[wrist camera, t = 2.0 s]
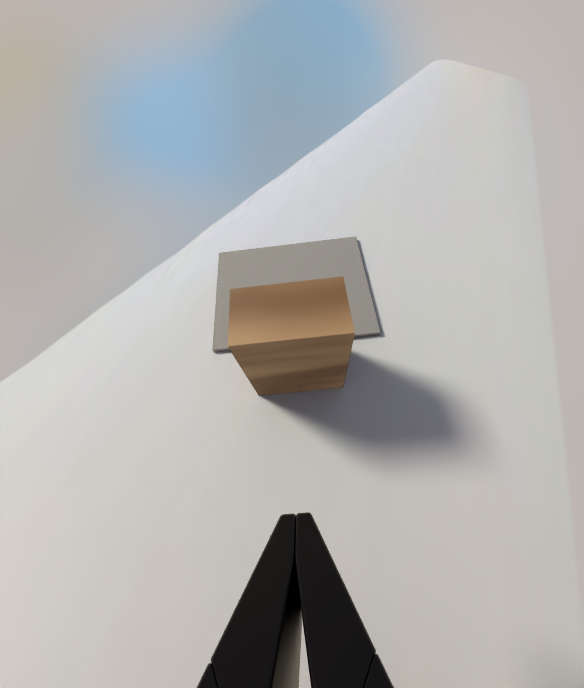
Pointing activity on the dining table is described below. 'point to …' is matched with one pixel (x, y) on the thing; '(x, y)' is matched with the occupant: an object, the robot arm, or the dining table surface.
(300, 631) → the robot arm
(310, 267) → the mat
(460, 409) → the dining table surface
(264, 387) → the walnut block
